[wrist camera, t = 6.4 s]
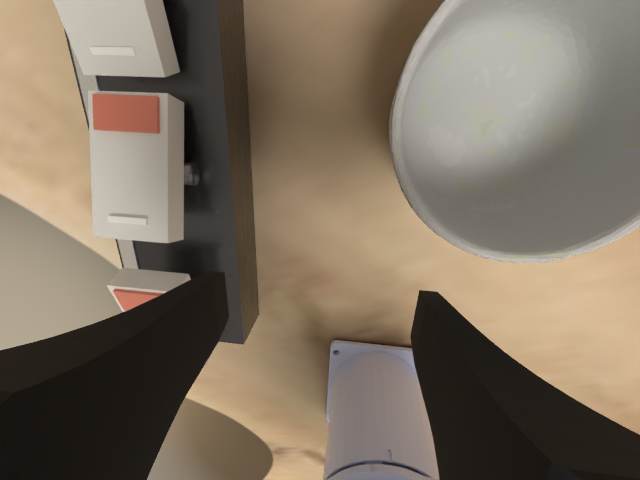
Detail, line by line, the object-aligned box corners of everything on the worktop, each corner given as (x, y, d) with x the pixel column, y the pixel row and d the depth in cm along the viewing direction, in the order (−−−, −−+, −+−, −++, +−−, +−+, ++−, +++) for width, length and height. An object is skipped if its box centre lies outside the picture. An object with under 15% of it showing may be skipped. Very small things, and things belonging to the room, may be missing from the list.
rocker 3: (214, 345, 22) (205, 366, 20) (161, 339, 22) (148, 359, 21) (188, 273, 17) (174, 295, 16) (122, 267, 18) (104, 288, 16)
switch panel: (258, 314, 25) (237, 356, 21) (165, 304, 26) (126, 343, 21) (238, -77, 16) (192, -149, 11) (93, -74, 16) (-3, -140, 12)
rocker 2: (183, 239, 16) (165, 243, 15) (114, 233, 17) (89, 237, 15) (184, 102, 15) (164, 91, 14) (110, 99, 16) (84, 88, 14)
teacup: (375, 206, 20) (383, 259, 13) (385, 8, 16) (405, -77, 9) (606, 209, 19) (765, 273, 11) (683, -10, 15) (1013, -133, 7)
